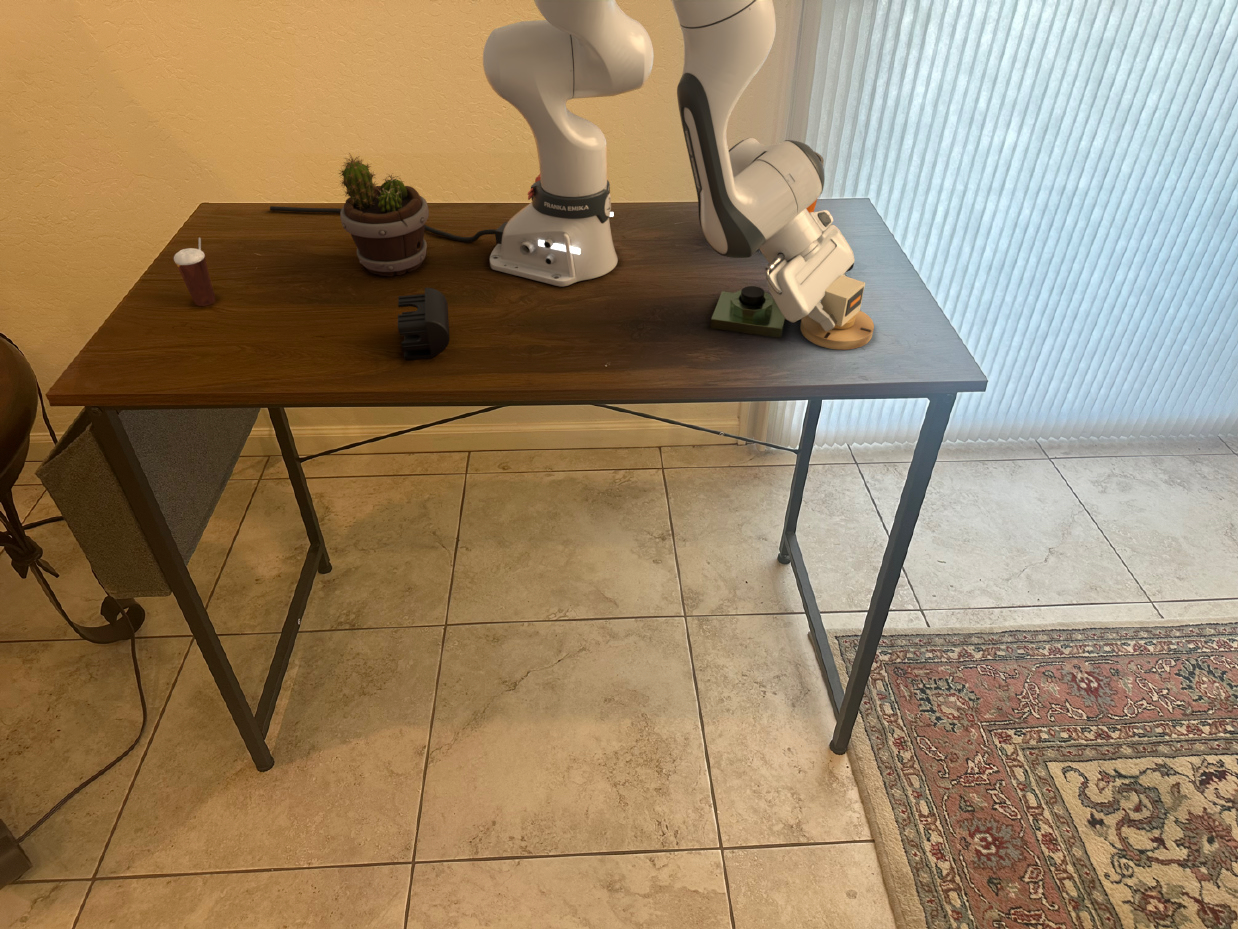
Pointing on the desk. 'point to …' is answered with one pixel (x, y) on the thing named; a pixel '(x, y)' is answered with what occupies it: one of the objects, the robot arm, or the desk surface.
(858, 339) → the stand
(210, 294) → the milkshake
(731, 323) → the base
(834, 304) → the tan cube with screen
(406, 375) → the desk surface
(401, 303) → the end cap
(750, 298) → the button
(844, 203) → the desk surface
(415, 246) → the flowerpot
